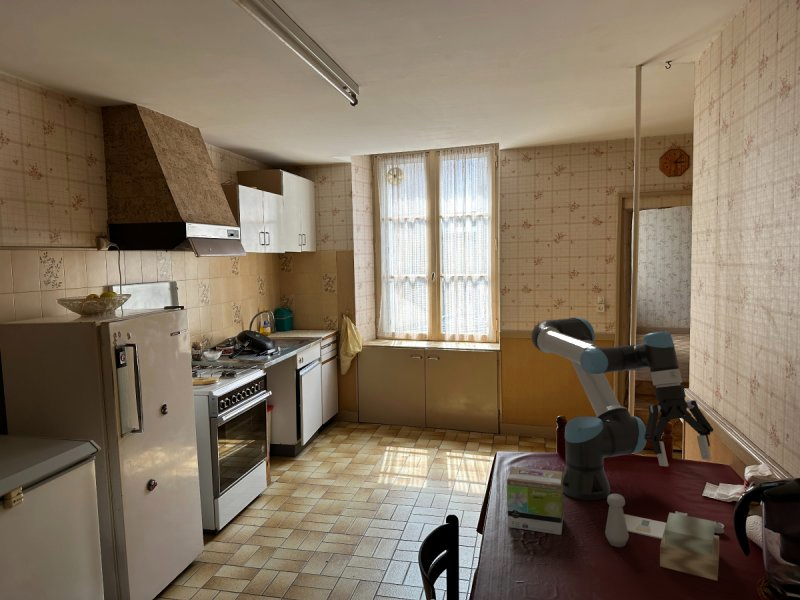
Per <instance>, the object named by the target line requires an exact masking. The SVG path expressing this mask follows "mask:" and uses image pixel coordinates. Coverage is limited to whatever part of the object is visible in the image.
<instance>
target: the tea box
mask: <svg viewBox="0 0 800 600" xmlns="http://www.w3.org/2000/svg"><path fill="white" fill-rule="evenodd" d="M563 474H564V471H559V470H558V471H557V470H548V469H538V468H528V467H519V466H511V468H510V471H509V474H508V477H507V479H506V495H507V496H506V497H507V498H506V499H507V501H506V503H507V504H506V505H507V526H508V528H510V529H511V528H512V529H520V530H524V531H525V530H527V531H533V532H539V533H547V534H551V535H552V534H553V535H558V536H561V535H562V531H563V520H564V493H563Z"/></svg>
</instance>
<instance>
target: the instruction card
mask: <svg viewBox="0 0 800 600" xmlns="http://www.w3.org/2000/svg"><path fill="white" fill-rule="evenodd" d="M624 517H625V521H626V526H627V530H628V533H633V534H638V535H642V536H647V537H651V538H654V539H655V538H656V539H659V540H662V537H663V533H664V529H665V525H666V523H667V522H663V521H659V520H653V519H650V518H646V517H645V518H644V517H639V516H635V515H631V514H626V513H624Z"/></svg>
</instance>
